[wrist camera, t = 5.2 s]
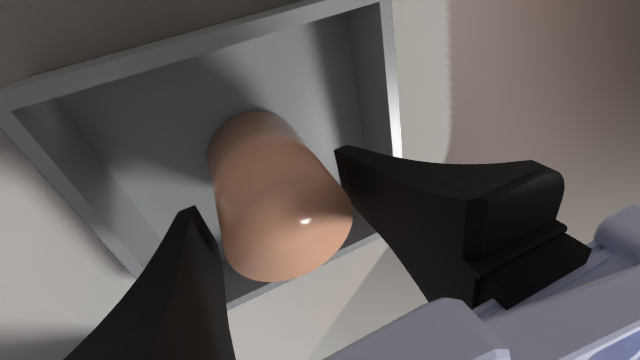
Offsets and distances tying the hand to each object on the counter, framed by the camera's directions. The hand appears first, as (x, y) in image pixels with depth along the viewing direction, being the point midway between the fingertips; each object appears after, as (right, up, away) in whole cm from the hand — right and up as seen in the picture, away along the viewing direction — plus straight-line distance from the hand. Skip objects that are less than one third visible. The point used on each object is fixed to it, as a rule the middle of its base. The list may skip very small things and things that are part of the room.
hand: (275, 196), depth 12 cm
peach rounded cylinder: (-1, +2, +3) cm, 4 cm away
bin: (-2, +2, +4) cm, 4 cm away
